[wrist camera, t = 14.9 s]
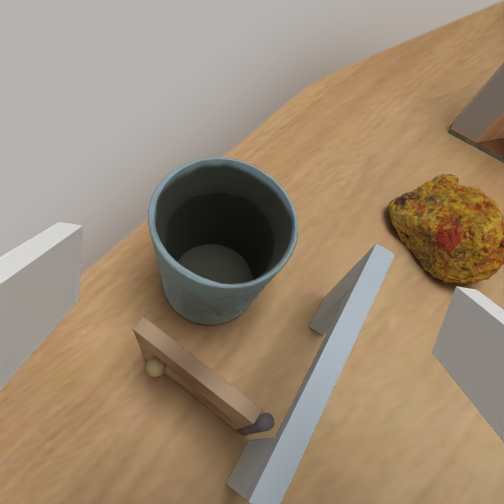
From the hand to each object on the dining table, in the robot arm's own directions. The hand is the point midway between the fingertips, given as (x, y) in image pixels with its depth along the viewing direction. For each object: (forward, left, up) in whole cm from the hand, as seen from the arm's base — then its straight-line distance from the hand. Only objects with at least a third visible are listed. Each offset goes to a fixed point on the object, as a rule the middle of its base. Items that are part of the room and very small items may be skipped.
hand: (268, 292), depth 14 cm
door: (-1, +2, -22) cm, 22 cm away
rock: (+11, -25, -23) cm, 36 cm away
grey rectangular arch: (-1, -6, -22) cm, 23 cm away
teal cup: (+9, -1, -23) cm, 24 cm away
